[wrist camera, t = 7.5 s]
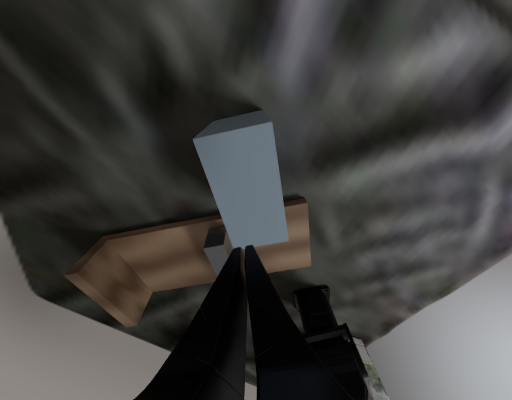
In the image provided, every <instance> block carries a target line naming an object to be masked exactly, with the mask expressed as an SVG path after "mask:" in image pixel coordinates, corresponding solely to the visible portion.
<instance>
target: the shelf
mask: <svg viewBox="0 0 512 400" xmlns="http://www.w3.org/2000/svg"><path fill="white" fill-rule="evenodd" d="M283 203H284V210H285V217H286V224H287V231H288V238H289V241H286V242H280V243H274V244H269V245H263V246H257V247H254V248H255V250H256V252H257V254H258V256H259V258H260V260H261V262H262V264H263V266H264V268H265V270H266V272H267V273H273V272H279V271H285V270H291V269H297V268H303V267H309V266H311V255H310V238H309V221H308V205H307V201H306V199H305V198H301V199H296V200H291V201H286V202H283ZM218 226H224V222H223V219H222V217H221V214H217V215H212V216H207V217H201V218H196V219H191V220H186V221H180V222H175V223H170V224H164V225H159V226H154V227H149V228H143V229H138V230H133V231H128V232H122V233H117V234H112V235H107V236H102V237H101V238H100V239H99V240H98V241H97V242H96V243H95V244H94V245H93V246H92V247H91V248H90V249H89V251H88V252H87V253H86V254H85V255H84V256H83V257H82V258H81V259H80V260H79V261H78V262H77V263H76V264H75V265H74V266H73V267H72V268H71V269H70V270H69V271H68V272H67V273H66V274H65V275H64V276H65V277H66V278H67V279H68V280H70V281H71V282H72V283H73V284H74V285H76V286H77V287H78V288H79V289H80V290H82V291H83V292H84V293H85V294H87V295H88V296H89V297H90V298H91V299H93V300H94V301H95V302H96V303H97V304H99V305H100V306H101V307H102V308H103V309H105V310H106V311H107V312H108V313H110V314H111V315H112V316H113V317H114V318H116V319H117V320H118V321H119V322H120V323H122V324H123V325H124V326H125V327H131V326H137V324H138V322H139V320H140V318H141V315H142V313H143V311H144V309H145V307H146V305H147V303H148V301H149V298H150V296H151V294H152V292H156V291H163V290H169V289H175V288H181V287H187V286H193V285H199V284H205V283H211V282H215V280H216V278H217V275H216V273H215V271H214V269H213V267H212V265H211V263H210V261H209V259H208V257H207V255H206V253H205V251H204V249H203V247H204V244H205V240H206V237H207V233H208V230H209V228H213V227H218ZM242 250H243V253H244V255H245V249H242Z"/></svg>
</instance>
